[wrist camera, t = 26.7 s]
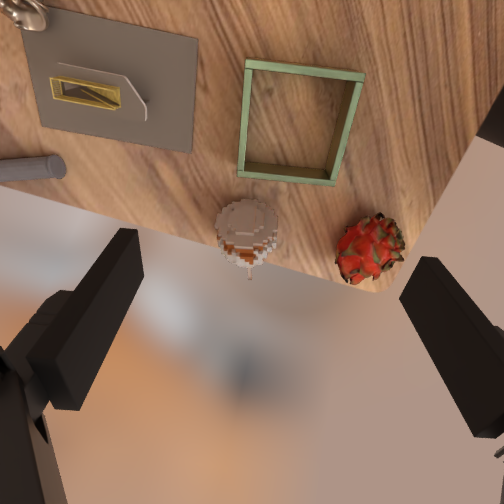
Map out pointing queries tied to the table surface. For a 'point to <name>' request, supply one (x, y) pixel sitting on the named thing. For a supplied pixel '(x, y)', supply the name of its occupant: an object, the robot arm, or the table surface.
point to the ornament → (26, 14)
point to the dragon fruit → (369, 248)
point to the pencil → (32, 168)
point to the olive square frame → (340, 133)
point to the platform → (113, 80)
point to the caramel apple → (246, 232)
